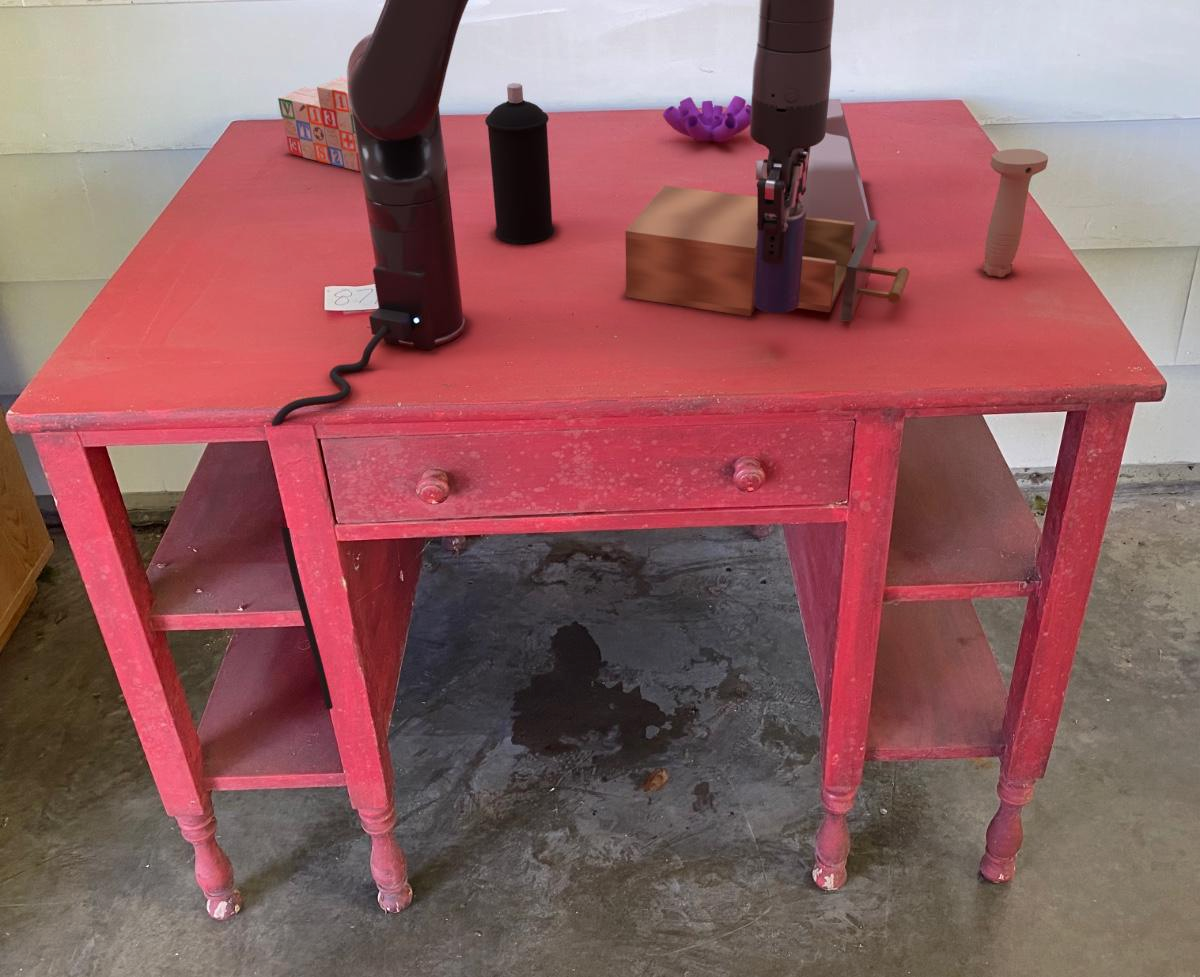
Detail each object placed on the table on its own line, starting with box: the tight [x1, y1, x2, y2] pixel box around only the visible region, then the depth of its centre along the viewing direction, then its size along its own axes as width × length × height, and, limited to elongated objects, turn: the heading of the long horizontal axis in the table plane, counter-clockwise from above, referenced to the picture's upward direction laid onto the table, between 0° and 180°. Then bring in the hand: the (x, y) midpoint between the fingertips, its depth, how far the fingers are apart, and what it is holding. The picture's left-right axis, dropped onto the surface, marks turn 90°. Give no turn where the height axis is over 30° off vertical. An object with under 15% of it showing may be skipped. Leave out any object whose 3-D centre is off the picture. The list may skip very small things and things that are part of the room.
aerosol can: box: [484, 82, 555, 246], centre depth 148 cm, size 8×8×20 cm
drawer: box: [796, 217, 910, 323], centre depth 134 cm, size 20×14×7 cm
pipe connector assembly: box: [662, 95, 751, 143], centre depth 179 cm, size 11×15×10 cm
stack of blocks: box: [277, 75, 361, 173], centre depth 175 cm, size 21×6×12 cm, turn 57°
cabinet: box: [624, 185, 758, 317], centre depth 139 cm, size 16×15×9 cm
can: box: [753, 202, 806, 314], centre depth 120 cm, size 5×5×11 cm
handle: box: [982, 148, 1049, 278], centre depth 137 cm, size 5×6×15 cm
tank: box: [755, 98, 877, 251], centre depth 153 cm, size 25×16×12 cm, turn 174°
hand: (779, 250), depth 120 cm, fingers closed on can, 5 cm apart
